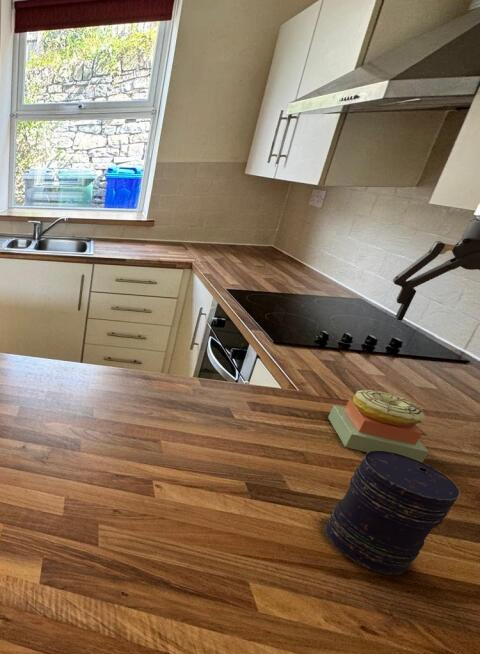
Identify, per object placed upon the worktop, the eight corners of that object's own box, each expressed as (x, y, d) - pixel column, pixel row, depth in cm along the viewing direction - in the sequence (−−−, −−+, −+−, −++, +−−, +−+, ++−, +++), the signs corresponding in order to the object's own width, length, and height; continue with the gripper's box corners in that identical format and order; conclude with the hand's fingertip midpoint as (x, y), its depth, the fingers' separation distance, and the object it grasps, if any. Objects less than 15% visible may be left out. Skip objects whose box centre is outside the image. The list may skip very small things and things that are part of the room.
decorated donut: (434, 431, 80) (444, 415, 79) (380, 429, 80) (388, 413, 79) (386, 401, 90) (394, 387, 88) (338, 400, 90) (345, 385, 88)
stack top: (395, 421, 88) (402, 409, 87) (415, 445, 81) (422, 433, 80) (344, 410, 92) (349, 399, 91) (358, 432, 84) (364, 420, 83)
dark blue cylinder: (378, 583, 58) (431, 507, 51) (309, 527, 66) (347, 456, 60) (424, 565, 60) (479, 492, 54) (351, 514, 69) (392, 445, 63)
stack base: (394, 432, 90) (401, 419, 89) (420, 465, 81) (429, 451, 79) (327, 417, 95) (333, 404, 94) (345, 447, 85) (351, 433, 84)
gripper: (410, 215, 78) (364, 317, 86) (631, 230, 63) (550, 350, 72) (404, 212, 83) (362, 308, 92) (607, 225, 69) (534, 337, 77)
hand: (444, 326), depth 82 cm, fingers open, 13 cm apart
